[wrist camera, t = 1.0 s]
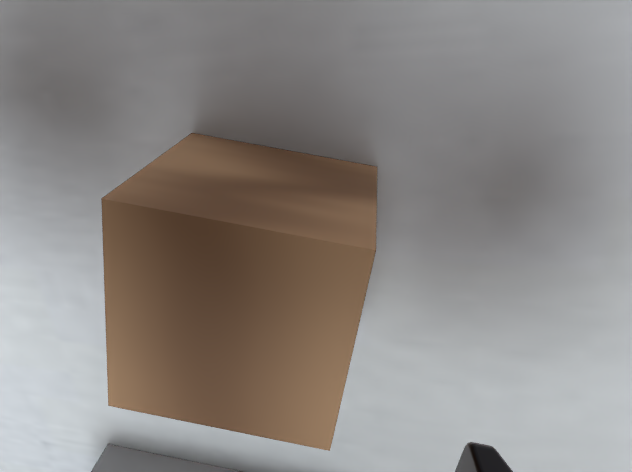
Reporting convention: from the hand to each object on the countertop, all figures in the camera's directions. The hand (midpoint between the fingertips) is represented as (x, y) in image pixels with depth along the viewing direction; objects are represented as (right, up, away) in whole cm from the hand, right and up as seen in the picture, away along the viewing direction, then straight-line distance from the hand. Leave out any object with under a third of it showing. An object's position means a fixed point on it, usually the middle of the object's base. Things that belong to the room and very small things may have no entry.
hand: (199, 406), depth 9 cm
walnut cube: (+1, +3, +6) cm, 7 cm away
